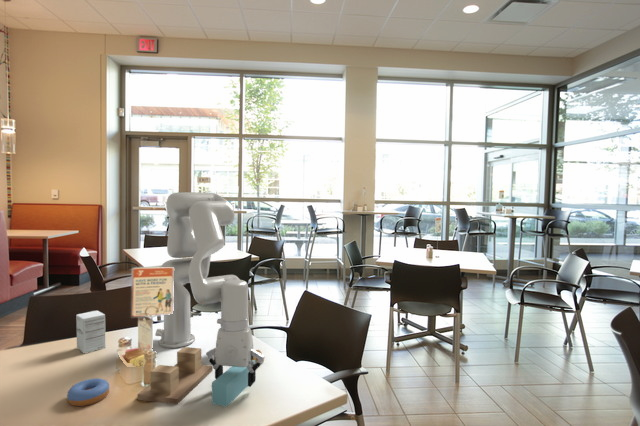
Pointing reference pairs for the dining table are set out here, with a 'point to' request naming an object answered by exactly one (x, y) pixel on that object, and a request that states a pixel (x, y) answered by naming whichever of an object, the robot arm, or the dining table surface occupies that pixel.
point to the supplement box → (90, 331)
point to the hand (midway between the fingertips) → (235, 382)
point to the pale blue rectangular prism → (229, 385)
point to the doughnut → (88, 392)
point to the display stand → (176, 378)
